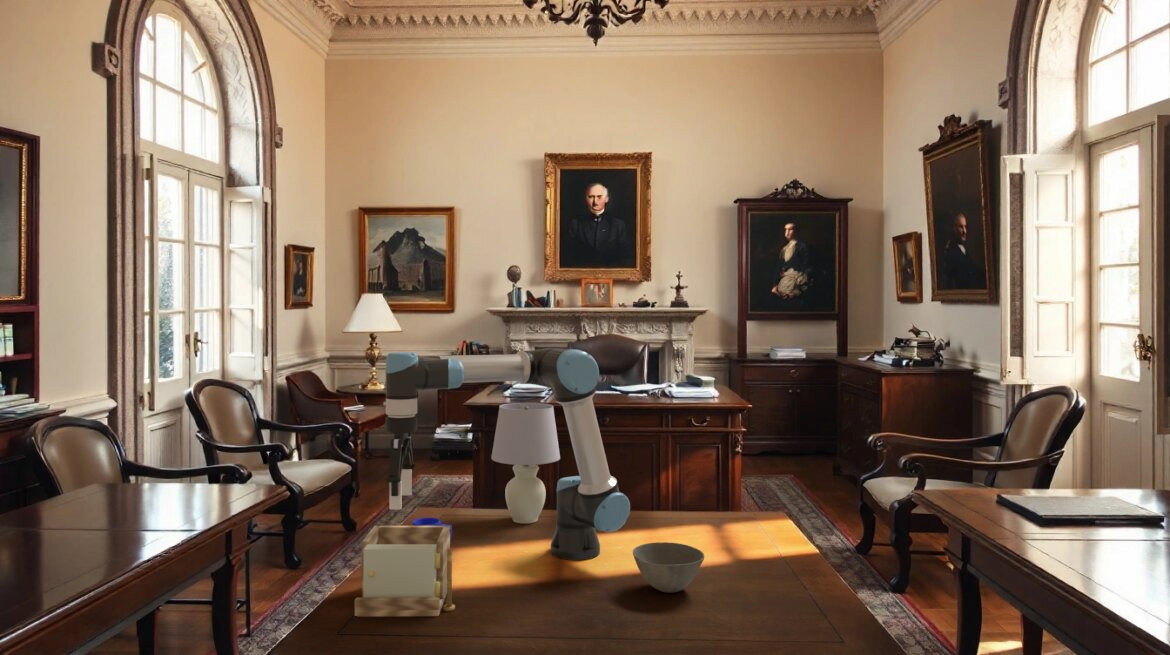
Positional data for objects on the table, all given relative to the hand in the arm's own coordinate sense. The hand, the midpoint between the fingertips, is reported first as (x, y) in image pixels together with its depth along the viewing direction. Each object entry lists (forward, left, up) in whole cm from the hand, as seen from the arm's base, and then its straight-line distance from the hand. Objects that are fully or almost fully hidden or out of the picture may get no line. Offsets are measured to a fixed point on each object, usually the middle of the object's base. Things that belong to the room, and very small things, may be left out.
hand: (400, 501), depth 192 cm
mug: (+10, -41, -27) cm, 50 cm away
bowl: (-62, -30, -27) cm, 74 cm away
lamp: (-6, -84, -27) cm, 89 cm away
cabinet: (0, -6, -27) cm, 27 cm away
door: (0, 0, -25) cm, 25 cm away
